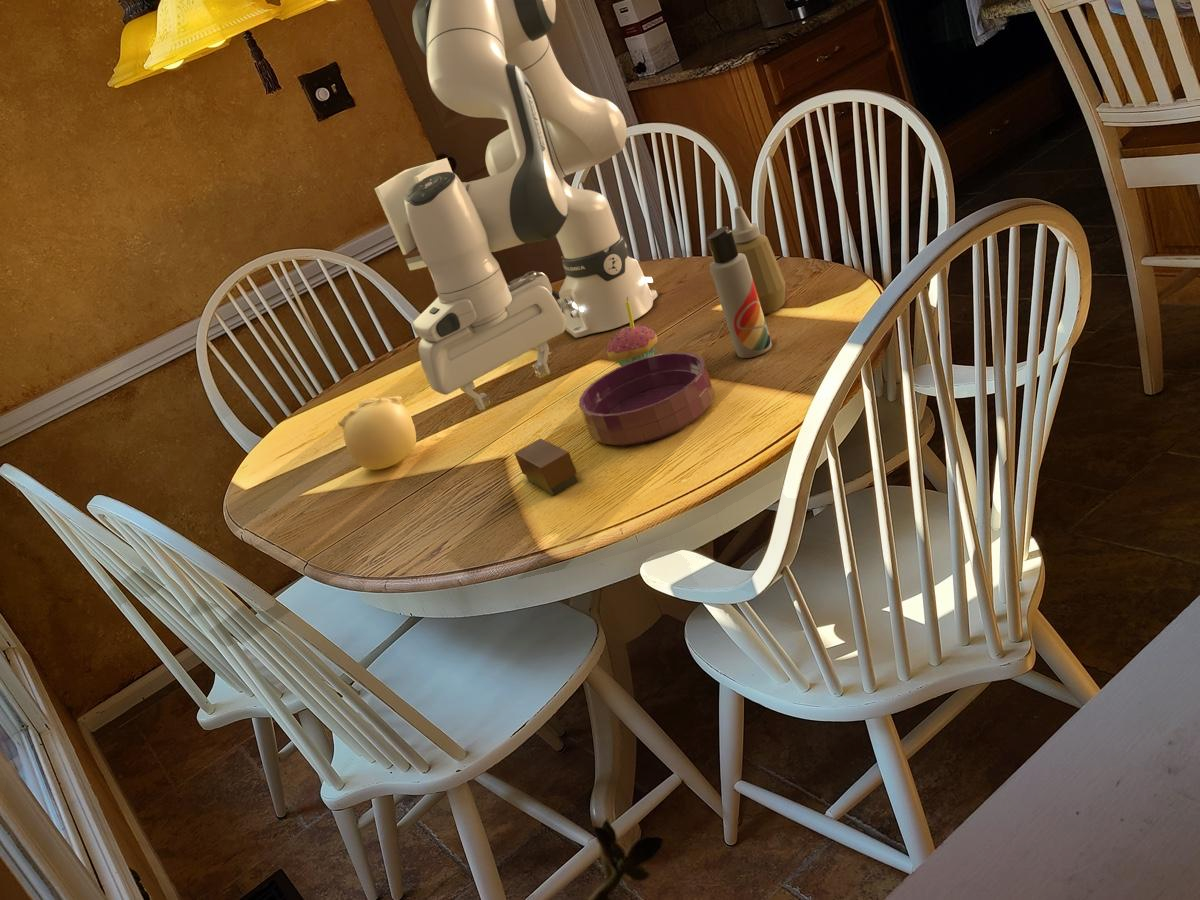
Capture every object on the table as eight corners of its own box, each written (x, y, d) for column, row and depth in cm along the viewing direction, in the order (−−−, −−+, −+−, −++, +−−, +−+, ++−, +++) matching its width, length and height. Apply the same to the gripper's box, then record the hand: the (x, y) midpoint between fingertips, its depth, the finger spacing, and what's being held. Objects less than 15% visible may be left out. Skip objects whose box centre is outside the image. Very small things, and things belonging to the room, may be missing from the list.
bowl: (569, 432, 169) (557, 400, 167) (670, 375, 175) (659, 344, 173) (632, 461, 153) (619, 426, 150) (741, 397, 159) (730, 363, 157)
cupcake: (646, 353, 187) (623, 288, 183) (675, 359, 180) (652, 292, 176) (606, 377, 184) (582, 311, 179) (634, 384, 177) (610, 316, 172)
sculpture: (421, 433, 190) (396, 378, 186) (426, 458, 179) (399, 400, 175) (358, 459, 190) (331, 404, 185) (359, 486, 179) (331, 428, 174)
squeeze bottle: (792, 293, 189) (764, 193, 182) (789, 311, 182) (760, 208, 175) (746, 305, 192) (716, 206, 184) (742, 323, 185) (710, 221, 177)
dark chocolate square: (525, 480, 159) (513, 452, 157) (551, 465, 160) (540, 437, 158) (553, 497, 151) (541, 467, 149) (580, 481, 153) (568, 452, 151)
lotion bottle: (774, 351, 170) (738, 228, 162) (738, 362, 170) (700, 241, 162) (770, 338, 175) (734, 219, 167) (735, 349, 176) (698, 231, 167)
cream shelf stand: (470, 326, 238) (404, 170, 224) (511, 318, 233) (446, 157, 219) (444, 349, 229) (374, 188, 215) (486, 342, 224) (417, 176, 210)
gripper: (532, 263, 151) (567, 353, 157) (401, 329, 144) (442, 421, 150) (553, 267, 145) (588, 360, 151) (417, 336, 139) (459, 431, 144)
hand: (514, 391), depth 150 cm, fingers open, 8 cm apart
